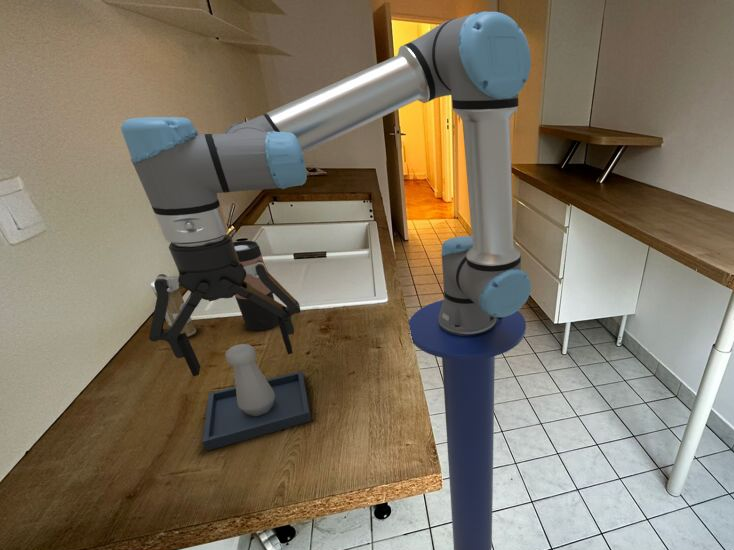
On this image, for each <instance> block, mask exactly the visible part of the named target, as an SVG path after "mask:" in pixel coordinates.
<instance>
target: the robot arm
mask: <svg viewBox="0 0 734 550" xmlns="http://www.w3.org/2000/svg"><path fill="white" fill-rule="evenodd" d="M531 58H532V55H531V49H530V46H529V41H528V40H527V37H526V35H525V32H523V29H522V28H520V26H519V25H518V23H517V22H516V21H515V20H514V19H513V18H512V17H510V16H509V15H507V14H505V13H502V12H498V11H479V12H474V13H472V14H468V15H464V16H461V17H458V18H457V17H456V18H452V19H449V20H446V21H444V22H442V23H440V24H439V25H437V26H435V27H433V28H432V29H430V30H429V31H427V32H425V33H424V34H422V35H420V36H419V37H417V38H415V39H413V40H412V41H410V42H408V43H405V44H403V45H401V46H399V48H398V52H397V54H396V56H395V55H394V56H393V57H390V58H388V59H386V60H384V61H381V62H379V63H377V64H375V65H372V66H370V67H368V68H365V69H363V70H361V71H358V72H356V73H354V74H351V75H349V76H347V77H345V78H343V79H341V80H339V81H336V82H334V83H332V84H329V85H327V86H324V87H323V88H320V89H318V90H316V91H313V92H310V93H308V94H306V95H304V96H302V97H300V98H297V99H295V100H293V101H290V102H288V103H286V104H283V105H281V106H280V107H277V108H274V109H272V110H270V111H267V112H266V113H264V114H262V115H259V116H256V117H254V118H252V119H250V120H248V121H245V122H238V123H234V124H232V125H231V126H229V127H228V128H227V130H226V131H225V132H224V133H213V134H212V133H200V132H198V130H197V129H196V128H195V125H194V123H193V122H192V121H191V120H190V118H187V117H181V116H180V117H179V116H170V117H169V116H143V117H134V118H133V117H132V118H128V119H126V120H124V121H123V122H122V124H121V125H120V130H121V133H122V135H123V139H124V142H125V144H126V147H127V150H128V153H129V156H130V162H131V164H132V165H133V167H134V169H135V172H136V174H137V177H138V179H139V181H140V183H141V185H142V187H143V190H144V192H145V195H146V197H147V199H148V201H149V204H150V206H151V209H152V211H153V213H154V216H155V218H156V221H157V224H158V225H159V228H160V231H161V232H162V236H163V237H164V240H165V241H166V242H169V243H170V244H169V245H168V250H169V252H170V254H171V256H172V259H173V262H174V264H175V266H176V269H177V272H178V275H171V276H168V275H167V274H163V273H161V274H158V275H157V276H156V279H155V283H154V285H155V289H156V292H157V295H158V296H157V297H156V302H155V305H154V310H153V314H152V315H153V316H152V322H151V324H150V325H151V326H150V330H149V335H148V340H150V342H158V341H164V342H166V343H168V344H169V347H170V349H171V350H172V353H173V355H174V356H175V358H176V359H183V358H184V360H185V362H186V364H187V366H188V369H189V370H190V373H191V375H192V377H196V376H197V377H198V376H199V375H200V371H201V364H200V362H199V360H198V358H197V355H196V353H195V351H194V348H193V346H192V344H191V342H190V339H189V337H187V335H186V333H180V332H181V331H182V329H183V328H184V326H185V324H186V323H187V321H188V319H189V318H190V316H191V317H192V315H193V313H194V311H195V309H196V308H197V307H198V305H199V304H200V302H201V301H202V300H205V301H208V302H213V301H218V300H220V299H232V298H234V297H235V295H236V294H238V295H240V296H241V297H243V298H247V299H249V300H251V301H252V302H254V303H256V304H258V305H260V306H261V307H263V308H265V309H267V310H268V311H270V312H272V313H274V314H275V315H277V318H278V324H277V325H278V327H279V330H280V333H281V336H282V340H283V343H284V346H285V350H286V353H287V355H291V354H294V352H293V346H292V342H291V339H290V336H291V335H294V334H295V327H294V323H293V320H292V317H293V316H295V314H296V315H298V314H300V313H301V306H300V303H299V301H298V300H296V299H295V297H294V296H293V295H291V293H290V292H289V291H288V290H287V289H286V288H284V286H283V285H282V284H281V283H280V282H279V281H277V280H276V278H275V277H274V276H272V274H271V273H269V270H268V267H266V264H265V262H263V261H264V260H263V261H260V260H258V261H256V263H255V264H253V265H248V266H243V265H242V264H241V263H240V262H239V259H238V256H237V253H236V250H235V247H234V244H233V242H234V241H233V238H232V237H231V236H230V235H228V233H229V231H230V230H229V227H228V223H227V221H226V218H225V214H224V212H223V211H224V210H223V208H222V205H221V203H220V200H219V198H218V194H222V193H224V194H227V193H233V192H246V191H248V192H249V191H259V190H272V189H273V190H274V189H281V190H284V189H285V190H286V189H287V188H293V187H298V186H303V185H305V183H306V182H307V178H308V175H307V173H308V172H307V167H306V166H307V165H306V162H305V158H304V155H305V154H307V153H309V152H311V151H314V150H315V149H318V148H320V147H322V146H324V145H326V144H328V143H330V142H332V141H334V140H337V139H338V138H340V137H343V136H345V135H347V134H349V133H351V132H353V131H355V130H358V129H360V128H362V127H364V126H366V125H368V124H370V123H372V122H374V121H377V120H379V119H381V118H383V117H385V116H387V115H389V114H391V113H393V112H396V111H398V110H400V109H402V108H404V107H406V106H408V105H410V104H412V103H415V102H417V101H418V102H421V103H422V104H427V103H429V102H431V101H433V100H435V99H438V98H442V97H448V96H451V106H452V112H454V113H455V114H456V115H457V116H458V117H459V118H460V119H461V121H462V132H463V133H462V134H463V145H464V157H465V168H466V169H465V170H466V181H467V183H466V184H467V194H468V195H467V197H468V206H469V207H468V208H469V219H470V231H471V235H463V236H456V237H450V238H448V239H446V240H445V241H443V243H442V245H441V254H440V256H441V268H442V283H443V299H442V300H443V303H442V306H441V310H440V313H439V317H438V322H439V327H440V329H441V330H442V331H444V332H445V333H447V334H449V335H453V336H457V337H476V336H481V335H484V334H486V333H489V332H490V331H492V330H493V329H494V328H495V326H496V318H498V319H499V320H501V319H502V317H506V316H509V315H512V314H513V313H515V312H517V311H519V310H521V308H522V307H523V305H524V304H526V302H527V301H528V299H529V297H530V295H531V290H532V282H531V279H530V276H529V275H528V273H527V272H525V271H524V270H522V255H521V254H522V253H521V250H520V248H518V247H517V246H516V245H515V244H514V216H513V215H514V213H513V178H512V177H513V175H512V173H513V172H512V140H511V139H512V138H511V137H512V135H511V119H512V116H513V115H514V114H515V113H516V112H517V110H518V109H519V93H520V92H521V91H522V90H523V89H524V87H525V84H526V82H528V79H529V77H530V73H531V68H532V67H531V66H532V59H531ZM246 274H251V275H252V276H253V277H254V278H260V280H261V281H262V283H263V284H264V285H265V286H266V287H267V288H268V289H269V290H270V291H271V292H273V295H274V296H275V297H277V299H279V300H280V301H281V302H282V303H283V304H282V303H280V302H279V301H277V300H275V299H274V300H273V299H272V298H270V297H268V296H267V295H265V294H263V293H262V292H260V291H258V290H257V289H255V288H253V287H252V286H251V285H250V284H248V283H247V282H245V281H244V279H245V277H246ZM176 285H180V287H182V288H184V289H185V290H187V291H189V292H190V293H189V295H188V297H187V298H186V301H184V303H185V304H184V305H183V307H182V309H181V310H180V312H179V314H178V315H177V317H176V319H175V320H174V322H173V323H172V325H171V327H170V326H169V328H164V325H165V320H166V318H165V316H166V311H167V306H168V302H169V297H170V292H173V291H174V290H175V288H176Z"/></svg>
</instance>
